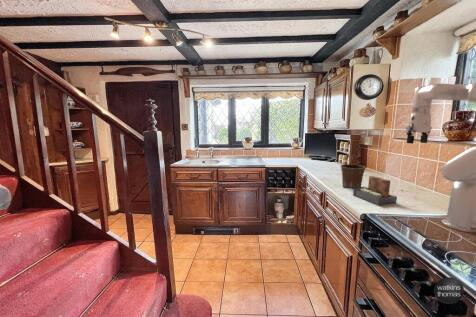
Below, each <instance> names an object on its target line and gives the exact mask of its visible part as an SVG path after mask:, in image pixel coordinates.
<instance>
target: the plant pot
mask: <svg viewBox="0 0 476 317" xmlns="http://www.w3.org/2000/svg"><path fill="white" fill-rule="evenodd" d="M340 168H341V169H340V170H341V177H342V178H341V179H342V182H341V183H342V184H341V185H342V188H345V189H353V190H354V189H362V183H363V177H364V174H365V170H366V166H365V165H362V164H352V163H351V164H350V163H347V164H340Z"/></svg>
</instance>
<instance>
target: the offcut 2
mask: <svg viewBox="0 0 476 317" xmlns="http://www.w3.org/2000/svg"><path fill="white" fill-rule="evenodd" d="M369 195H372V196H375V197H377V198H381V196H382V195H381V194H379V193H376V192H369Z"/></svg>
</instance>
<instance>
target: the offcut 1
mask: <svg viewBox="0 0 476 317" xmlns="http://www.w3.org/2000/svg"><path fill="white" fill-rule="evenodd" d="M359 189H360V191H361V192H364V193H367V194H369V192H372V191H370V190H367V189H363V188H359Z"/></svg>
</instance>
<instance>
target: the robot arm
mask: <svg viewBox="0 0 476 317" xmlns="http://www.w3.org/2000/svg"><path fill="white" fill-rule="evenodd" d="M413 94H414V95H413V101H412V110H411V114H410V118H409V122H408V126H406V127H405V133H406V136H407V137H406V138H407V139H406V144H414V142H415V134H416V133H421V135H420V141H419V142H420V143H421V144H428V138H429V136H430V133H431V130H432V129H433V128H432V126H431V125H432V115H431V108H432V100H437V101H439V100H441V101H468V102H471V103H476V82H473V83H463V84H462V83H457V84H456V83H440V82H439V83H434V84H430V85H422V86H418V87H416V88H415V89H414V92H413ZM440 173H441V175H442V177H443V178H444V179H445V180H448V181H450V182H452V185H451V187H450V188H451V189H450V194H449V195H450V196H449V201H448V205H447V206H448V208H447V213H446V217H445V218H442V219H441V220H440V221H441V223H442V224H443V226H445V227H448V228H451V229H454V230H457V231H460V232H465V233H476V145H474V146H472V147H469V148H468V149H466V150H464V151H462V152H461V153H459V154H457V155H456V156H454V157H453V158H451V159H449V160H447V161H446V162H445V163H444V164H443V166H442V167H441V172H440Z"/></svg>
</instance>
